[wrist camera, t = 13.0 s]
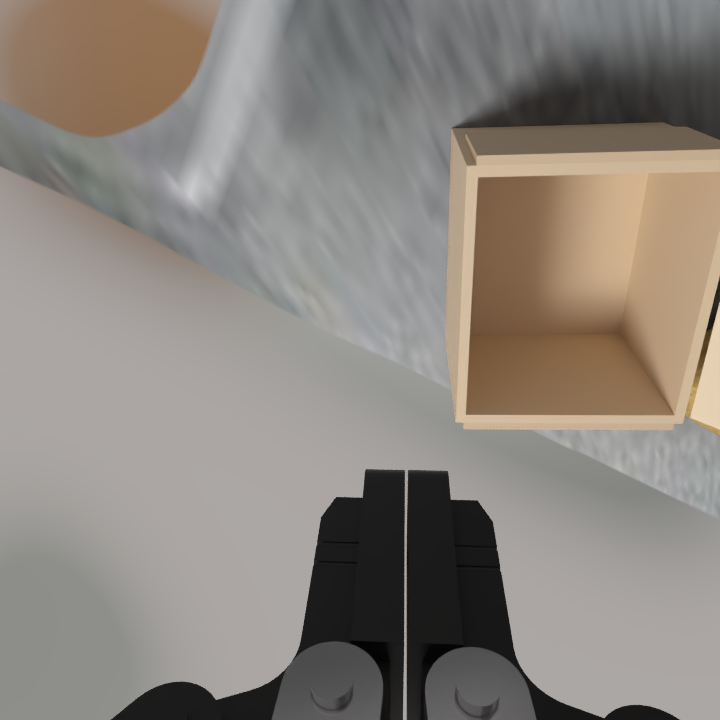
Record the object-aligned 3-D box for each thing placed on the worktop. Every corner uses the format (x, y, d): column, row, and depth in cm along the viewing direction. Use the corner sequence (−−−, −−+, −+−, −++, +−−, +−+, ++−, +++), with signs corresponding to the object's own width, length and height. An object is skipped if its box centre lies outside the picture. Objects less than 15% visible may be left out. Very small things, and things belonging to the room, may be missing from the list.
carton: (451, 120, 43) (467, 155, 32) (664, 114, 42) (751, 148, 31) (445, 343, 51) (455, 429, 41) (623, 342, 50) (681, 430, 40)
